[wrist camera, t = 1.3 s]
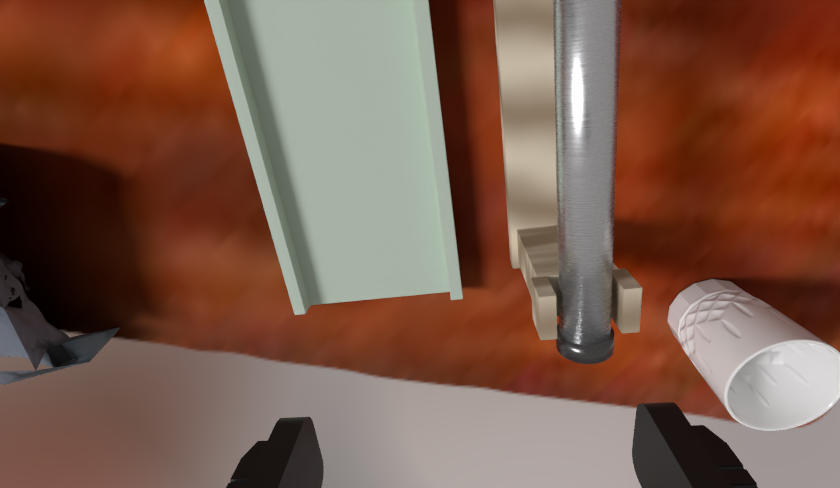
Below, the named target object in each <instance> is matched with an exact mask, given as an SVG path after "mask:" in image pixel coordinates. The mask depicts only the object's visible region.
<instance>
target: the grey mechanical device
mask: <svg viewBox="0 0 840 488" xmlns="http://www.w3.org/2000/svg"><path fill="white" fill-rule="evenodd" d="M8 201H9V200H7V199H3V198H0V207H2V206H3V205H4V204H6V203H7V202H8ZM22 267H23V264H22V263H21V262H19V261H17V260H14V261H11V260H10V259H9V257H6V255H5V254H3V253H0V356H7V357H11V356H21V357H24V358H28V359H30V360H31V362H32V364H33V366H34V368H35V370H36V369H37V367H38V365H39V363H42V364H45V365H47V366H50V367H52V368H50V369H43V370H38V371H0V383H1V384H4V385H5V384H9V383H12V382H15V381H19V380H23V379H26V378H30V377H34V376H37V375H42V374H45V373H48V372H52V371H55V370H59V369H63V368H67V367H71V366H75V365H79V364H83V363H86V362H90V360H91V359H92V358H93V357H94V356H95V355H96V354H97V353H98V351H100V350H101V349H102V347H103V346H104V345H105V344H106V343H107V342H108V341H109V340H110V339H111V338H112V337H113V336H114V335H115V334H116V332H117V331H118V330H119V329H120V328H119V327H117V328H112V329H107V330H103V331H98V332H93V333H88V334H84V335H79V336H75V337H71V338H69V337H68V336H67V335H66V334H65V333H63V332H62V331H60V330H58V329H57V328H55V327H53V326H52V325H50V324H49V323H48V322H47V321H46V320H45V318H44V316H43V314H42V313H41V312H40V310H39V309H38V307H37V306H36V305H35V304H34V303H33V302H32V301H31V300H30V299H29V298H28V296H27V295H26V293H25V292H24V290H23V288H24V289H25V290H26V291H29V290H30V288H29V287H28V286H27V285H26V283H25V275H24V274H23V272H22V271H21V269H22ZM18 278H19V279H21V280H22V281H23V282H24V287H23V286H22V283H21V280H19V279H18ZM18 297H20V299H21V301H22V307H21V308H16V307H11V306H8V305H7V304H8V303H9V302H10V301H13V300H15V299H16V298H18Z"/></svg>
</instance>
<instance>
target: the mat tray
mask: <svg viewBox="0 0 840 488" xmlns="http://www.w3.org/2000/svg"><path fill="white" fill-rule="evenodd" d="M204 2H205V5H206V9H207V12H208V16H209V19H210V23H211V26H212V30H213V33H214V36H215V40H216V43H217V47H218V50H219V54H220V57H221V61H222V64H223V68H224V71H225V75H226V78H227V82H228V85H229V89H230V92H231V95H232V99H233V102H234V106H235V109H236V113H237V116H238V120H239V123H240V127H241V130H242V134H243V137H244V141H245V144H246V148H247V151H248V154H249V158H250V161H251V165H252V168H253V172H254V175H255V179H256V182H257V186H258V189H259V193H260V196H261V200H262V203H263V207H264V210H265V213H266V217H267V220H268V224H269V227H270V231H271V234H272V238H273V241H274V245H275V248H276V252H277V255H278V259H279V262H280V266H281V269H282V272H283V276H284V279H285V283H286V286H287V290H288V293H289V297H290V300H291V304H292V307H293V311H294V314H295V315H298V314H306V312H307V310H308V308H309V307H310V305H317V304H327V303H337V302H347V301H358V300H368V299H378V298H389V297H399V296H409V295H420V294H430V293H440V292H450V296H451V300H456V299H463V297H462V285H461V276H460V267H459V259H458V250H457V241H456V233H455V224H454V215H453V207H452V198H451V189H450V181H449V172H448V164H447V155H446V146H445V138H444V129H443V120H442V112H441V103H440V94H439V86H438V77H437V68H436V60H435V51H434V42H433V34H432V25H431V16H430V8H429V0H204Z"/></svg>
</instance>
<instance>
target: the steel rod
mask: <svg viewBox="0 0 840 488" xmlns="http://www.w3.org/2000/svg"><path fill="white" fill-rule="evenodd" d="M620 29H621V0H553V41H554V91H555V140H556V190H557V240H558V289H559V324H558V325H557V339H556V347H557V350H558V351H559V353H560V354H561V355H562V356H564V357H565V358H567V359H569V360H571V361H574V362H577V363H583V364H595V363H600V362H603V361H605V360H607V359H609V358H610V357H611V356H612V354H613V350H614V331H613V329H612V327H611V304H612V273H613V242H614V212H615V181H616V151H617V120H618V90H619V59H620Z"/></svg>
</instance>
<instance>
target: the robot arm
mask: <svg viewBox="0 0 840 488" xmlns="http://www.w3.org/2000/svg"><path fill="white" fill-rule="evenodd" d="M632 457H633V464H634V468H635V472H636V475H637V478H638V480H639V482H640V484H641V486H642V488H758V487H757V485H756V484H757V483H756V482H755V481H754V479H753V478H752V477H751V476H750V474H749V473H748V471H747V470H744V468H743V465H742V463H741V462H740V461H739V459H738V458H737V456H736V455H735V454H734V452H733V451H732V450H731V448H730V447H729V446H728V444H727V443H726V442H724V441H723V440H722V439H721V438H719V437H718V436H717V435H715V434H714V433H713V432H712V431H710V430H709V429H708V428H706V427H705V426H703V425H699V426H691V425H690V423H689V422H688V420H687V419H686V417H685V416H684V414H683V413H682V411H681V410H680V409H679V407H678V406H677V405H676V404H675V403H672V402H670V403H646V404H639V405H638V406H637V410H636V419H635V429H634V438H633V448H632ZM322 480H323V460H322V455H321V452H320V448H319V444H318V440H317V436H316V432H315V428H314V425H313V421H312V419H311V418H310V417H298V418H280V419H279V420H278V421H277V423H276V425H275V427H274V429H273V431H272V433H271V435H270V438H269V440H268V441H258V442H257V443H256V444H255V445H254V446H253V447H252V448H251V449H250V450H249V451H248V452H247V453H246V454H245V455H244V456H243V457H242V458H241V460H240V462H239V464H238V466H237V468H236V470H235V472H234V474H233V475H232V477H231V482H230V483H228V485H227V487H226V488H321V486H322Z"/></svg>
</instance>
